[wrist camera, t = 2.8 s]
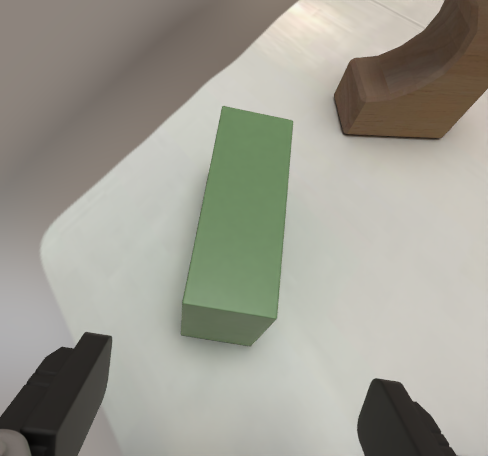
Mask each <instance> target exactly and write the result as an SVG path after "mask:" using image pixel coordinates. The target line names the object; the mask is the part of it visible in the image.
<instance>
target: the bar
mask: <svg viewBox="0 0 488 456" xmlns="http://www.w3.org/2000/svg"><path fill="white" fill-rule="evenodd" d="M292 129H293V121H292V120H288V119H283V118H278V117H274V116H269V115H264V114H259V113H254V112H250V111H245V110H240V109H235V108H230V107H225V106H223V107H222V110H221V115H220V120H219V125H218V130H217V135H216V140H215V145H214V150H213V155H212V160H211V164H210V169H209V174H208V179H207V184H206V189H205V194H204V199H203V204H202V209H201V213H200V218H199V223H198V228H197V233H196V238H195V243H194V248H193V253H192V258H191V262H190V267H189V272H188V277H187V282H186V287H185V292H184V297H183V302H182V320H181V335H183V336H189V337H195V338H202V339H208V340H214V341H221V342H227V343H233V344H240V345H246V346H251V345H252V344H253V343H254V342H255V341H256V340H257V339H258V338H259V337H260V336H261V335H262V334H263V333H264V332H265V331H266V330H267V329H268V327H269V326H270V325H271V324H272V323H273V322H274V321H275V320H276V319H277V311H278V299H279V287H280V275H281V263H282V251H283V239H284V226H285V214H286V202H287V190H288V178H289V166H290V154H291V142H292Z"/></svg>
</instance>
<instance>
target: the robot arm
mask: <svg viewBox="0 0 488 456" xmlns="http://www.w3.org/2000/svg"><path fill="white" fill-rule="evenodd" d="M111 348H112V336H108V335H102V334H96V333H89V332H85V333H84V334H83V336H82V337H81V339H80V340H79V342H78V343H77V345H76V346H75V348H74V349H72V348H66V347H61V348H59V349H58V350H56V351H55V352H53V353H51V354H50V355H48V356H47V357H46V358H45V359H44V360H43V361H42V363H41V364H40V365H39V367H38V368H37V369H36V371H35V373H34V374H33V375H32V376H31V378H30V379H29V380H28V381H27V384H26V385H24V386H23V388H22V389H21V390H20V392H19V393H18V394H17V396H16V397H15V398H14V400H13V401H12V402H11V404H10V405H9V406H8V408H7V409H6V410H5V412H4V413H3V414H2V415H1V417H0V456H78V453H79V451H80V449H81V447H82V445H83V442H84V440H85V438H86V435H87V434H88V431H89V429H90V427H91V425H92V422H93V420H94V418H95V416H96V414H97V411H98V409H99V407H100V405H101V403H102V400H103V397H104V394H105V391H106V387H107V382H108V375H109V366H110V357H111ZM357 431H358V438H359V441H360V444H361V447H362V449H363V452H364V455H365V456H456V454H455V452H454V451H453V449H452V448H451V447H449V443H448V441H447V440H446V438H445V437H444V435H443V434H441V430H440V429H439V427H438V426H437V424H436V423H435V421H434V419H433V418H432V416H431V415H430V414H429V413H428V412H427V411H426V410H424V409H423V408H422V407H421V406H420V405H419V404H418V403H417V402H413V401H412V399H411V398H410V396H409V395H408V393H407V391H406V390H405V388H404V386H403V385H402V384H401V383H400V382H396V381H390V380H384V379H377V378H375V379H373V380H372V382H371V384H370V387H369V390H368V392H367V395H366V398H365V401H364V404H363V406H362V409H361V412H360V415H359V418H358V424H357Z"/></svg>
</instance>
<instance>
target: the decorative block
mask: <svg viewBox="0 0 488 456" xmlns="http://www.w3.org/2000/svg"><path fill="white" fill-rule="evenodd" d="M487 89H488V0H445V1H444V3H443V5H442V7H441V9H440V11H439V13H438V14H437V15H436V16H435V18H434V19H433V20H432V21H431V22H430V24H429V25H428V26H427V27H426V29H425V30H424V31H422V32H421V33H419V34H418V35H416V36H415V37H414V38H412V39H411V40H409V41H408V42H406V43H405V44H403V45H402V46H400V47H398V48H395V49H393V50H391V51H388V52H386V53H384V54H381V55H379V56H373V57H362V58H354V59H352V60H351V61H350V62H349V64H348V66H347V68H346V71H345V73H344V75H343V77H342V79H341V81H340V83H339V85H338V87H337V90H336V92H335V94H334V97H335V101H336V105H337V109H338V113H339V117H340V121H341V125H342V129H343V131H344V133H345V134H358V135H379V136H402V137H428V138H442V137H443V136H444V135H445V134H446V133H447V132H448V131H449V130H450V129H451V127H452V126H453V125H454V124H455V123H456V122H457V121H458V120H459V119H460V118H461V117H462V116H463V115H464V114H465V112H466V111H467V110H468V109H469V108H470V107H471V106H472V105H473V104H474V103H475V102H476V101H477V100H478V99H479V97H480V96H481V95H482V94H483V93H484V92H485V91H486V90H487Z"/></svg>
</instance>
